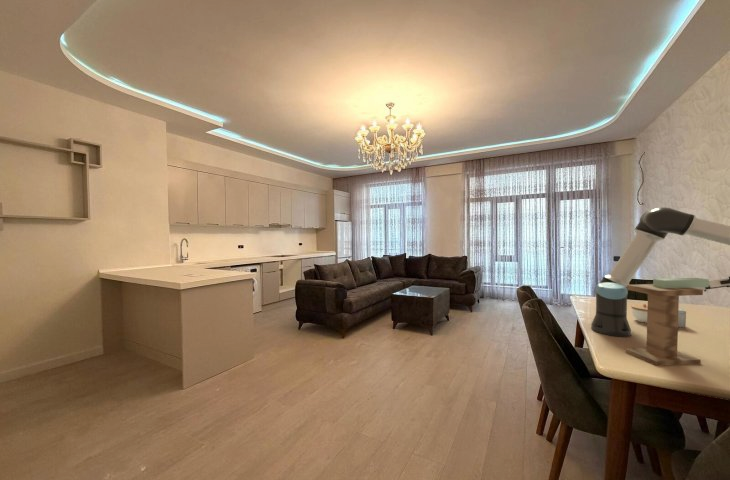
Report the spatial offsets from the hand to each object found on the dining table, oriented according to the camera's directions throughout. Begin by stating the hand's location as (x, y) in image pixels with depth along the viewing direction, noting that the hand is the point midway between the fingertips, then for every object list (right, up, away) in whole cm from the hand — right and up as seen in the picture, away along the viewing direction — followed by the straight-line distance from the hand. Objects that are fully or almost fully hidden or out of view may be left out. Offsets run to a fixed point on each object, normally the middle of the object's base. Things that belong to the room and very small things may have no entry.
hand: (697, 286), depth 128 cm
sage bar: (-22, +2, -13) cm, 26 cm away
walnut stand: (-29, -26, -13) cm, 41 cm away
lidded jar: (+8, -24, +32) cm, 41 cm away
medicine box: (+16, -25, +25) cm, 38 cm away
